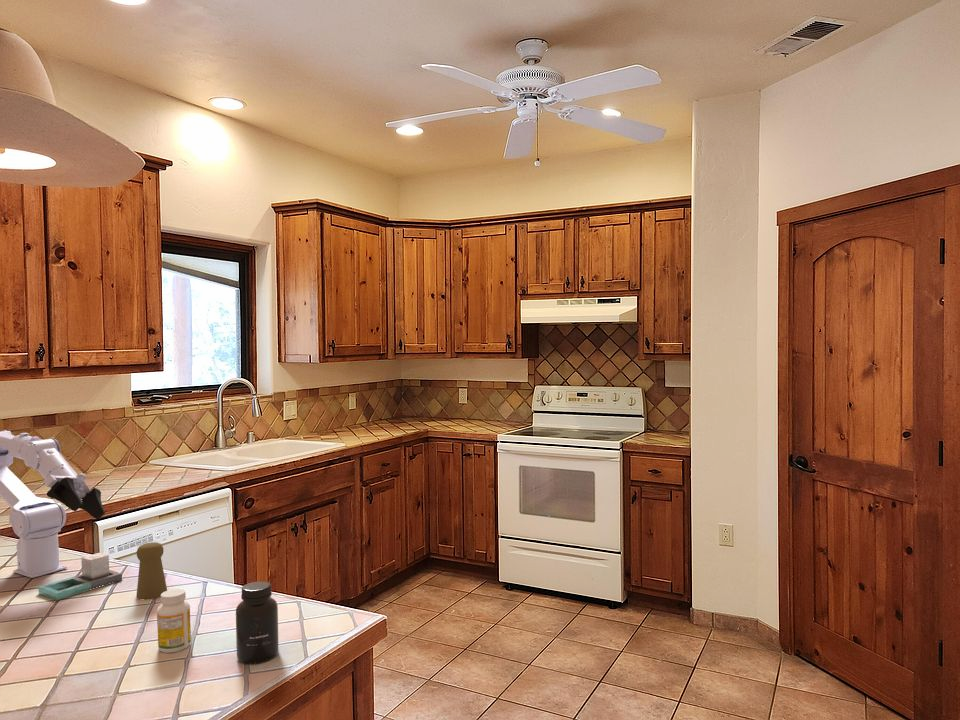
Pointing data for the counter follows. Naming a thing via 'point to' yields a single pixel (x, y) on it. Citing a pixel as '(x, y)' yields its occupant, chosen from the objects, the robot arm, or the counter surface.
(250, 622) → the supplement bottle
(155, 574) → the cork
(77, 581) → the grey teal tray
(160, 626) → the supplement bottle
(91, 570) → the beige rectangular block
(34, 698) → the counter surface
